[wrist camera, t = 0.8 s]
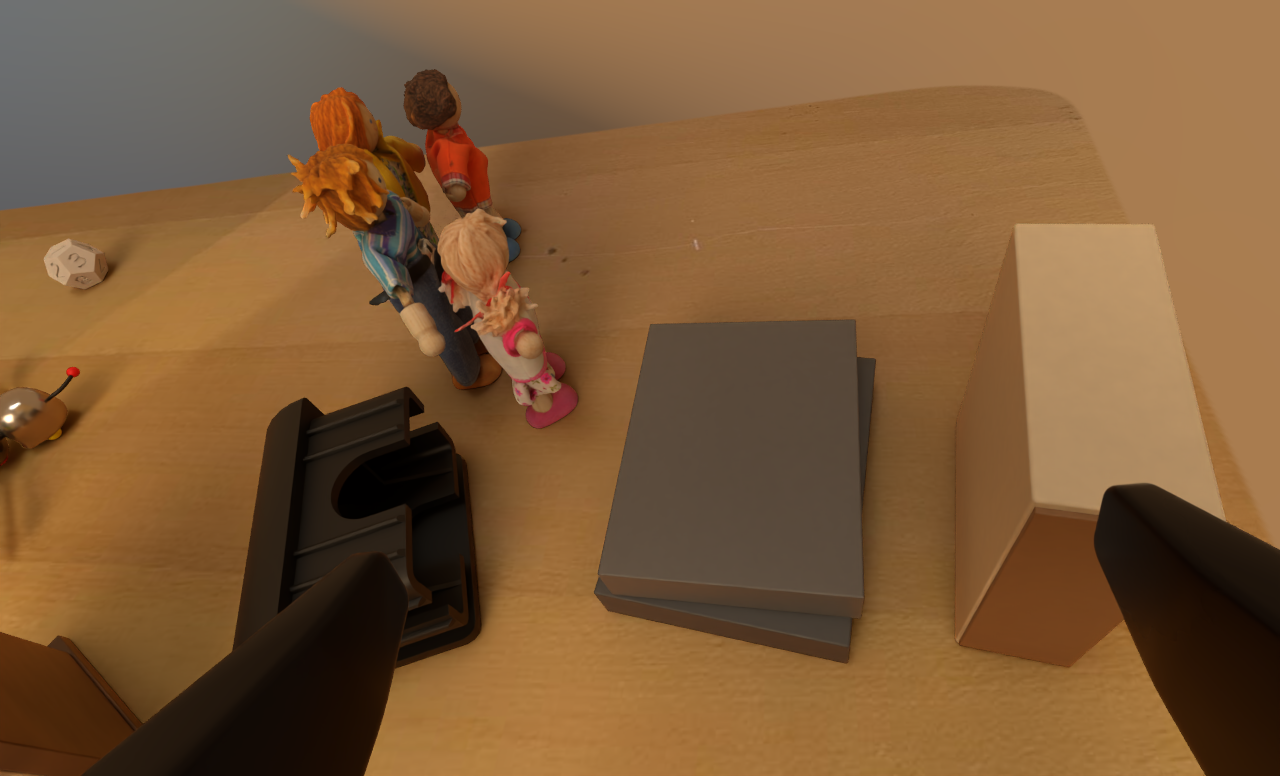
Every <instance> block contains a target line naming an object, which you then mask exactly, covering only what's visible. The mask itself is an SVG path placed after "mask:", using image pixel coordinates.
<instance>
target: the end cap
mask: <svg viewBox="0 0 1280 776" xmlns="http://www.w3.org/2000/svg"><path fill="white" fill-rule="evenodd" d="M421 413H424V405H423V404H422V402H421V401H420V400H419V399H418V398H417V396H416V395H415V394H414V393H413V392H412V390H411V389H410V388H408V387H404V388H401V389H398V390H395V391H392V392H390V393H387V394H384V395H381V396H378V397H375V398H372V399H369V400H367V401H364V402H361V403H358V404H355V405H352V406H349V407H346V408H344V409H341V410H338V411H335V412H332V413H329V414H326V415H324V414H323V413H322V412H321V411H320V410H319V409H318V408H317V407H315V406H314V405H313V404H312V403H311V402H310V401H309V400H308V399H307V398H302V399H300V400H298V401H295V402H293V403H291V404H289V405H288V406H286V407H285V408H283V409H282V410H281V411H280V412H279V413H278V414H277V415H276V416H275V417H274V418H273V419H272V421H271V423H270V425H269V427H268V429H267V434H266V440H265V446H264V453H263V459H262V465H261V472H260V478H259V485H258V491H257V497H256V504H255V510H254V516H253V523H252V529H251V536H250V542H249V548H248V555H247V561H246V567H245V574H244V580H243V587H242V593H241V599H240V606H239V612H238V618H237V625H236V631H235V638H234V644H233V650H232V651H234V650H235V649H236V648H237V647H238V646H240V645H241V644H242V643H243V642H245V641H246V640H247V639H248V638H249V637H251V636H252V635H253V634H254V633H256V632H257V631H258V630H259V629H261V628H262V627H263V626H264V625H265V624H267V623H268V622H269V621H270V620H272V619H273V618H274V617H275V616H277V615H278V614H279V613H280V612H281V611H283V610H284V609H285V608H286V607H288V606H289V605H290V604H291V603H293V602H294V601H295V600H296V599H297V598H299V597H300V596H301V595H302V594H304V593H305V592H306V591H307V590H308V589H310V588H311V587H312V586H313V585H315V584H316V583H317V582H318V581H320V580H321V579H322V578H323V577H324V576H326V575H327V574H328V573H329V572H331V571H332V570H333V569H334V568H336V567H337V566H338V565H339V564H340V563H342V562H343V561H344V560H345V559H347V558H348V557H349V556H351V555H353V554H356V553H363V552H374V551H379V552H383V553H384V554H385V555H387V557H388V558H389V560H390V561H391V563H392V565H393V566H394V568H395V570H396V572H397V573H398V575H399V577H400V578H401V580H402V582H403V584H404V585H405V587H406V589H407V592H408V597H409V606H408V612H407V616H406V620H405V625H404V629H403V634H402V638H401V643H400V647H399V651H398V656H397V660H396V665H395V668H398V667H401V666H404V665H407V664H409V663H412V662H415V661H418V660H421V659H424V658H427V657H430V656H433V655H436V654H439V653H442V652H445V651H448V650H451V649H454V648H457V647H460V646H463V645H466V644H468V643H470V642H471V641H473V640H475V638H476V637H477V636H478V634H479V633H480V627H481V621H480V609H479V598H478V587H477V576H476V565H475V554H474V543H473V532H472V520H471V509H470V498H469V487H468V476H467V465H466V463H465V461H464V459H463V458H462V457H461V456H460V455H459V454H456V451H455V447H454V444H453V441H452V439H451V438H450V436H449V435H448V434H447V432H446V431H445V430H444V429H443V428H442V426H441V425H440V424H439V423H438V422H436V423H433V424H430V425H427V426H424V427H421V428H418V429H415V430H413V431H410V423H409V418H410V417H412V416H415V415H418V414H421Z"/></svg>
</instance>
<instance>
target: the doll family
mask: <svg viewBox="0 0 1280 776" xmlns="http://www.w3.org/2000/svg"><path fill="white" fill-rule="evenodd" d="M404 86H405V88H406V91H405V94H404V96H405V99H404V109H405V112H406V116H407V119H408V120H409V122H410V123H411V124H412V125H413V126H416V127H418V128H420V129H428V131H427V135H426V143H425V146H426V153H427V159H428V162H429V164H430V167H431V170H432V172H433V174H434V176H435V178H436V179H437V181H438V183H439V184H440V186H441V188H442V189H443V193H445V194H446V196H447V198H448V199H449V200H450V202H451V203H452V204H453V206H454V207H455V209H456V210H457V211H458V213H459V214H460V215H461V218H462V219H457V220H455V221H453V222H452V223H450V224H449V225H447V226H446V227H445V228H444V230H443V232H442V234H441V236H440V240H439V239H438V237H437V235H436V233H435V231H434V229H433V227H432V225H431V223H430V221H429V220H430V204H429V201H428V195H427V193H426V191H425V189H424V187H423V185H422V183H421V182H420V180H419V179H418V177H417V176H416V174H415V173H414V171H416V172H418V173H421V172H422V171H423V169H424V167H425V158H424V155H423V151H422V150H421V148H420V147H419V146H417V145H416V144H413V143H407V142H406V141H404V140H403V139H400V138H398V137H395V136H387V137H385V138H383V132H382V129H381V128H382V126H381V122H380V120H377V121H375V119H374V117H373V115H372V114H371V113H370V112H369V110H368V109H367V108H366V106H365V104H364V103H363V101H361V100H360V99H359V97H358V96H357V95H356V94H354V93H352V92H346V91H345V90H344V88H342V87H341V88H337V89H336V90H333V91H331V92H330V93H329V94H325V95H322V97H321V101H319V102H315V103H314V104H313V105H312V106H311V114H310V122H311V126H312V130H313V133H314V135H315V138H316V140H317V143H318V147H319V150H320V151H318V152H317V153H316V154H315V155H313V156H311V157H310V158H309V160H308V162H307V164H306V165H304V164H303V163H301V162H300V161H299V160H298V159H296V158H294V157H292V156H291V155H288V158H289V160H290V161H291V163H292V164H293V165H294V166H296V167H295V168H296V169H297V172H296V173H291V174H292V175H294V176H296V177H297V178H298V179H299V180H300V181H302V182H303V184H302V185H298V186H297V187H296V188H294V189H293V192H299V193H301V194H304V200H305V203H304V207H303V210H302V212H301V217H302V218H303V219H305V218H306V217H307V216H308V214H309V212H311V211H312V212H313V211H314V210H315V208H316V205H318V207H319V208H320V209H322V210H323V216H324V218H325V221H326V223H327V224H328V223H329V226H330V227H329V228H328V229H327V230H326V233H327V235H326V237H327V238H330V237H331V235H332V234H335V232H336V227H337V221H338V222H340V223H341V224H342V225H344V226H345V227H347V228H349V229H351V230H352V231H353V234H354V236H355V237H356V238H357V240H358V243H359V246H360V249H361V251H362V260H363V262H364V264H365V266H366V267H367V268H368V270H369V271H370V272H371V273H372V274H373V275H374V276H375V277H376V279H377V280H378V281H379V282H380V284H381V285H382V288H383V290H384V291H383V292H382V293H381V294H379V295H378V296H377V297H375V298H373V299H372V300H371V301H370V302H369V303H370V304H371V305H379V304H380V303H384V302H386V301H387V300H390V302H391V303H392V304H393V306H394V307H395V309H396V310H397V311H398V312H399V313H400V316H401V319H402V320H403V322H404V324H405V325H406V327H407V328H408V330H409V332H410V333H411V335H412V336H413V337H414V338H415V339H417V340H418V342H419V348H420V349H421V351H422V352H423V353H424V354H425V355H427V356H430V357H433V356H437V355H439V356H440V357H441V358H442V360H443V361H444V363H445V365H446V366H447V368H448V370H449V371H450V372H451V374H452V380H453V384H454V386H455V387H456V388H457V389H461V390H463V389H471V388H477V387H482V386H486V385H489V384H491V383H492V382H494V381H495V380H496V379H497V378H498V377H499V376H500V373H501V371H502V367H503V369H504V370H505V371H506V372H507V374H508V375H509V376H510V377H511V378H512V386H513V393H514V396H515V398H516V400H517V402H518V403H519V404H520V405H524V406H529V407H528V408H527V410H526V419H527V421H528V423H529V424H530V425H531V426H533V427H535V428H543V427H546V426H548V425H550V424H552V423H554V422H556V421H557V420H559V419H561V418H562V417H564V416H566V415H567V414H568V413H570V412H571V411H572V410H573V409H574V408H575V406H576V405H577V401H578V396H577V393H576V392H575V391H574V389H573V388H571V387H570V386H569V385H567V384H564V383H560V382H559V381H557V380H558V379H559V378H560V377H561V376H562V375H563V374H564V372H565V369H566V368H565V362H564V360H563V359H562V358H561V357H559V356H558V355H557V354H554V353H551V352H546V353H545V348H544V343H543V340H542V338H541V336H540V334H539V326H538V321H537V317H536V313H535V310H534V308H535V307H537V306H538V305H537V304H531V301H530V299H529V297H528V296H529V295H528V293H529V288H526V287H524V288H521V287H520V286H519V284H518V283H517V282H516V281H515V280H514V279H513V277H512V276H511V274H510V272H508V271H507V270H506V268H507V265H508V262H510V261H512V260H514V259H515V258H516V257H517V256H518V254H519V253H520V247H519V244H518V243H517V242H516V241H515V240H514V239H516V238H517V237H518V236H519V235H520V233H521V228H520V225H519V224H518V223H517V222H516V221H514V220H512V219H508V218H505V219H502V217H501V216H500V215H499V214H498V212H497V211H496V210H495V209H494V208H493V206H492V200H491V196H490V188H489V181H488V176H487V167H488V159H487V157H486V156H485V155H484V154H483V153H482V152H481V151H480V150H479V149H477V148H476V147H475V146H474V144H473V142H472V141H471V139H470V138H468V137H467V134H466V132H465V131H464V129H463V128H461V127H460V126H459V125H458V122H457V121H458V120H459V118H460V115H461V102H460V99H459V95H458V94H457V92H456V90H455V89H454V87H452V86H451V85H450V84H449V83H448V82H447V79H446V77H445V75H443V74H442V73H440V72H439V71H437V70H435V69H434V70H425V71H422V72H418V73H417V75H415V76H414V78H413V79H412V80H411V81H408V82H406V84H404ZM470 307H471V308H470ZM471 309H472V310H471ZM486 352H489V353H490V354H491V355H488V354H483V353H486ZM480 354H483V355H480ZM478 355H480V356H478Z"/></svg>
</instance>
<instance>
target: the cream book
mask: <svg viewBox="0 0 1280 776" xmlns="http://www.w3.org/2000/svg"><path fill="white" fill-rule="evenodd" d="M1134 483H1150V484H1154V485H1156V486H1158V487H1161V488H1162V489H1164V490H1166V491H1168V492H1170V493H1172V494H1174V495H1176V496H1178V497H1180V498H1182V499H1184V500H1185V501H1187V502H1189V503H1191V504H1193V505H1195V506H1197V507H1199V508H1201V509H1203V510H1205V511H1206V512H1208V513H1210V514H1212V515H1214V516H1216V517H1218V518H1220V519H1222V520H1224V521H1226V519H1225V515H1224V511H1223V506H1222V502H1221V498H1220V494H1219V490H1218V486H1217V482H1216V478H1215V473H1214V469H1213V465H1212V461H1211V457H1210V453H1209V449H1208V444H1207V440H1206V436H1205V432H1204V428H1203V424H1202V420H1201V416H1200V411H1199V407H1198V403H1197V399H1196V395H1195V391H1194V387H1193V383H1192V378H1191V374H1190V370H1189V366H1188V362H1187V358H1186V354H1185V349H1184V345H1183V341H1182V337H1181V333H1180V329H1179V325H1178V321H1177V316H1176V312H1175V308H1174V304H1173V300H1172V296H1171V292H1170V288H1169V283H1168V279H1167V275H1166V271H1165V267H1164V263H1163V259H1162V254H1161V250H1160V246H1159V242H1158V238H1157V234H1156V230H1155V226H1154V225H1152V224H1015V225H1014V227H1013V230H1012V233H1011V236H1010V240H1009V243H1008V247H1007V250H1006V254H1005V257H1004V260H1003V264H1002V267H1001V271H1000V274H999V278H998V281H997V284H996V288H995V291H994V295H993V298H992V302H991V305H990V308H989V312H988V315H987V319H986V322H985V326H984V329H983V332H982V336H981V339H980V343H979V346H978V350H977V353H976V356H975V360H974V363H973V367H972V370H971V374H970V377H969V380H968V384H967V387H966V391H965V394H964V398H963V401H962V404H961V408H960V411H959V415H958V418H957V422H956V525H955V640H956V641H957V642H959V645H961V646H966V647H971V648H976V649H981V650H986V651H991V652H996V653H1001V654H1006V655H1011V656H1016V657H1021V658H1026V659H1031V660H1036V661H1041V662H1046V663H1051V664H1056V665H1060V666H1065V667H1070V666H1071V665H1073V664H1074V663H1075V662H1076V661H1077V660H1078V659H1079V658H1081V657H1082V656H1083V655H1084V654H1085V653H1086V652H1087V651H1089V650H1090V649H1091V648H1092V647H1093V646H1094V645H1095V644H1097V643H1098V642H1099V641H1100V640H1101V639H1102V638H1103V637H1105V636H1106V635H1107V634H1108V633H1109V632H1110V631H1111V630H1113V629H1114V628H1115V627H1116V626H1117V625H1118V624H1120V623H1121V622H1122V621H1123V620H1124V618H1123V615H1122V613H1121V611H1120V609H1119V606H1118V604H1117V602H1116V600H1115V597H1114V595H1113V593H1112V591H1111V588H1110V586H1109V584H1108V582H1107V579H1106V577H1105V575H1104V573H1103V570H1102V568H1101V566H1100V563H1099V561H1098V559H1097V556H1096V553H1095V549H1094V533H1095V529H1096V524H1097V520H1098V515H1099V511H1100V507H1101V502H1102V498H1103V495H1104V492H1105V491H1106V490H1107V489H1108V488H1109V487H1111V486H1114V485H1123V484H1134Z"/></svg>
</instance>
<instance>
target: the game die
mask: <svg viewBox="0 0 1280 776" xmlns="http://www.w3.org/2000/svg"><path fill="white" fill-rule="evenodd" d="M44 261H45V265H46V268H47V272H48V275H49V276H50V277H52V278H53V279H55V280H57V281H59V282H60V283H62V284H64V285H66V286H71V287H76V288H80V289H87V288H89V287H91V286H93V285H95V284H97V283H99V282H102V281H103V279H104V277H105V275H106V273H107V271H108V266H107V262H106V258H105V254H104V253H103V252H101V251H100V250H98V249H96V248H94V247H93V246H91V245H89V244H86V243H82V242H79V241H75V240H72V239H67V240H65V241H63V242H61V243H59V244H57V245H55V246H52V247H51V248H50V250H49V251H48V253H47V254H46V256H45V257H44Z"/></svg>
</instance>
